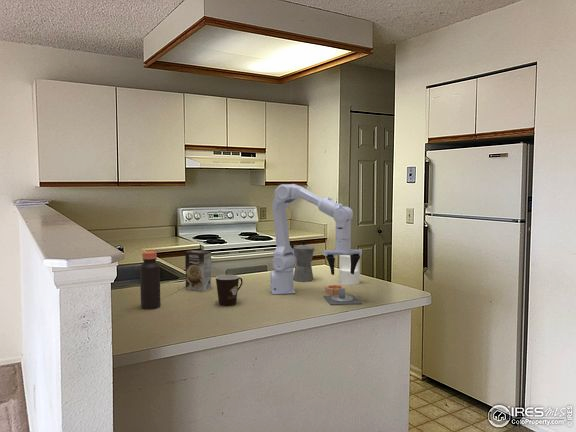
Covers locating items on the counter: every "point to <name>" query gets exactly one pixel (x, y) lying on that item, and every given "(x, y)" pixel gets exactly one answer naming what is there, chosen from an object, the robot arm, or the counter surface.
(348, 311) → the counter surface
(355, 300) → the mat
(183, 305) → the counter surface
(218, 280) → the coffee mug
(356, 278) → the cylinder with rectangular tab
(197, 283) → the coffee box
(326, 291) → the bowl
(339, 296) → the lid
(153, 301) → the bottle
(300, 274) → the coffeepot
